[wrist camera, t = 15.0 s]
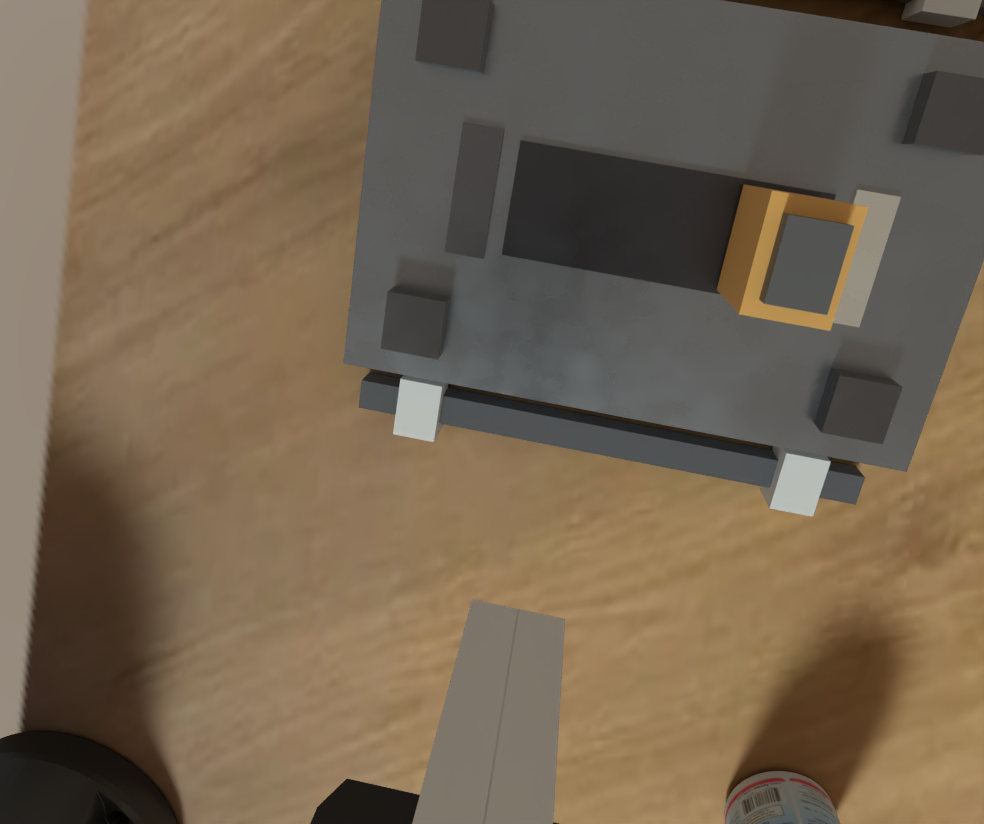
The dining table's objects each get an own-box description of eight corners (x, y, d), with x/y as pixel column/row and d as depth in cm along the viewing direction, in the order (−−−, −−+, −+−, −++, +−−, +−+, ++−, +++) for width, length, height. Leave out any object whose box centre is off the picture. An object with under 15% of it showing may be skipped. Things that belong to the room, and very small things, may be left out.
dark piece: (365, 412, 40) (352, 426, 38) (433, -179, 32) (422, -202, 30) (842, 505, 39) (856, 525, 37) (1043, -89, 31) (1076, -107, 28)
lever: (716, 289, 31) (743, 319, 26) (743, 184, 30) (777, 191, 24) (793, 303, 31) (837, 336, 25) (824, 198, 30) (877, 208, 24)
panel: (373, 337, 39) (335, 370, 33) (415, -25, 34) (378, -62, 28) (867, 431, 38) (917, 483, 32) (990, 67, 32) (1078, 49, 27)
